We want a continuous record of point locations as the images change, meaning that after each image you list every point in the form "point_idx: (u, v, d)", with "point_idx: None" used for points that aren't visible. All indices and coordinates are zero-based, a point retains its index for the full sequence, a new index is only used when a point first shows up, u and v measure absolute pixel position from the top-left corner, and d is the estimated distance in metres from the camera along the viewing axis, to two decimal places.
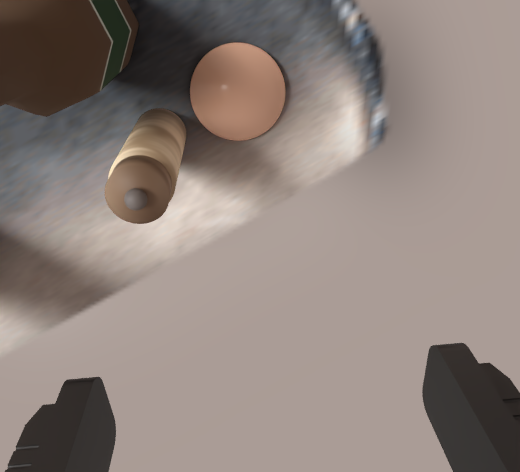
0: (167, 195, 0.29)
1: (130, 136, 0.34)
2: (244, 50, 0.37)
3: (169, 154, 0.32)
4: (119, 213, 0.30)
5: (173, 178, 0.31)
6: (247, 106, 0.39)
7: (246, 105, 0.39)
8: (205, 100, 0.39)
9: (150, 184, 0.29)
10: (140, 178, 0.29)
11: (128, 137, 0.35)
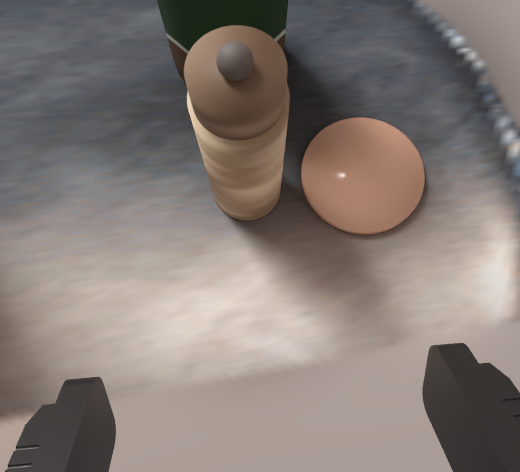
0: (282, 84, 0.18)
1: None
2: (386, 131, 0.31)
3: None
4: (193, 85, 0.18)
5: (287, 107, 0.20)
6: (370, 190, 0.30)
7: (369, 188, 0.30)
8: (320, 165, 0.30)
9: (264, 59, 0.18)
10: (254, 46, 0.18)
11: None
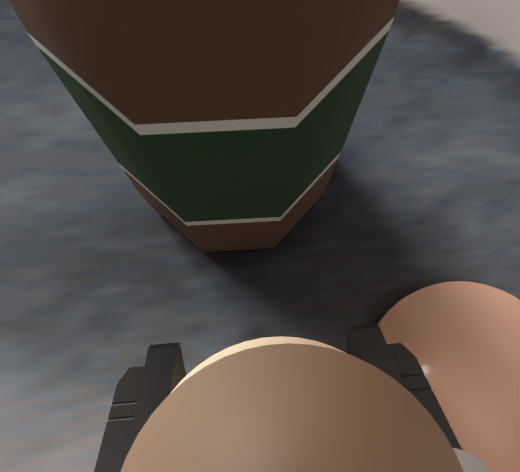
0: None
1: None
2: (505, 306, 0.18)
3: None
4: None
5: None
6: (485, 422, 0.17)
7: (485, 418, 0.17)
8: None
9: None
10: (353, 432, 0.05)
11: None
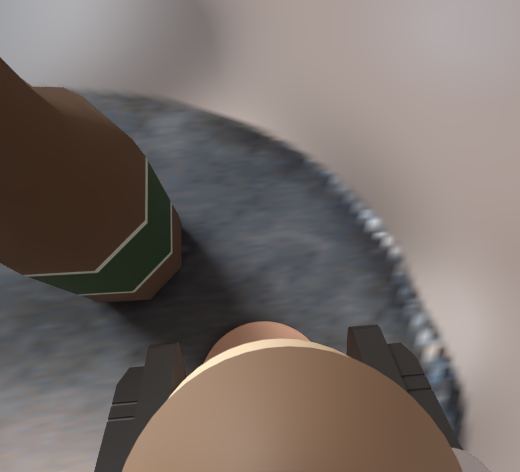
0: None
1: None
2: (291, 337, 0.29)
3: None
4: None
5: None
6: None
7: None
8: None
9: None
10: (354, 435, 0.05)
11: None
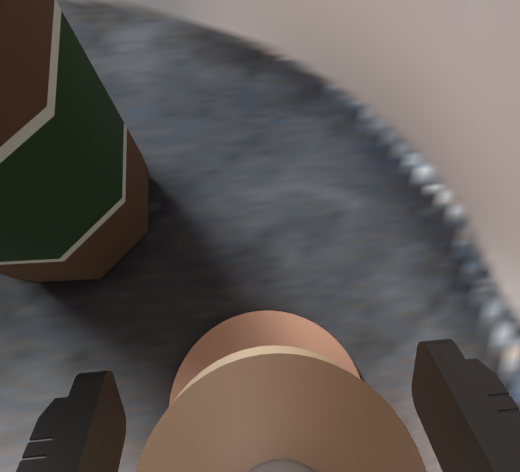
0: None
1: None
2: (308, 334, 0.19)
3: None
4: None
5: None
6: None
7: None
8: None
9: None
10: (331, 427, 0.06)
11: None
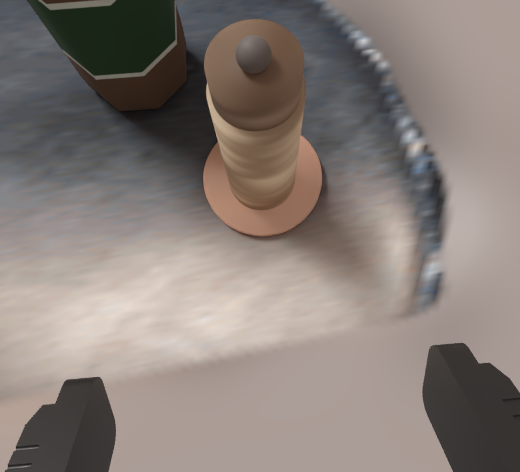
0: (299, 74, 0.18)
1: None
2: None
3: None
4: (213, 80, 0.18)
5: (303, 97, 0.20)
6: None
7: None
8: (221, 170, 0.31)
9: (281, 52, 0.18)
10: (271, 39, 0.19)
11: None
